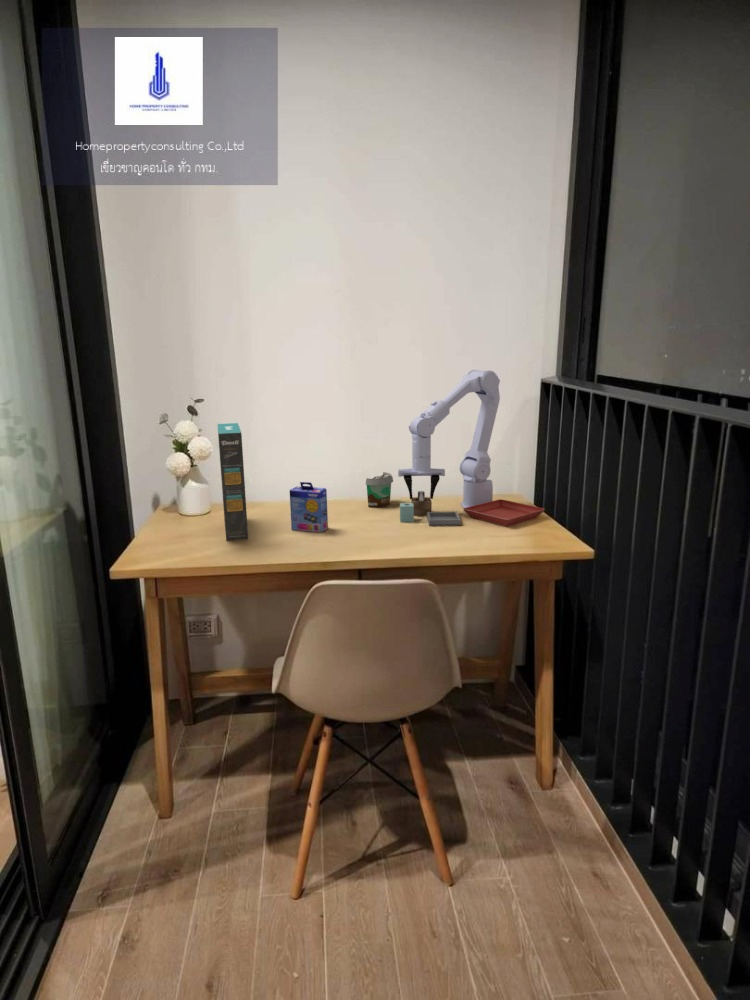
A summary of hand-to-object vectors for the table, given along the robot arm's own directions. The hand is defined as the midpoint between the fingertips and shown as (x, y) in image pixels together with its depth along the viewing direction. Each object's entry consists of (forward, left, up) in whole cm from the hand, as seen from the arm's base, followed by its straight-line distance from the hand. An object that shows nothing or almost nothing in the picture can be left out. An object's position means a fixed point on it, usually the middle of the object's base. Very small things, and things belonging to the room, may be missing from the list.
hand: (421, 498), depth 202 cm
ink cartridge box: (+34, +16, -5) cm, 38 cm away
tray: (-6, +10, -5) cm, 13 cm away
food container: (+12, -11, -5) cm, 17 cm away
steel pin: (0, 0, -5) cm, 5 cm away
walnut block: (0, 0, -5) cm, 5 cm away
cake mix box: (+56, +15, -5) cm, 58 cm away
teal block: (+5, +8, -5) cm, 11 cm away
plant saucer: (-25, +6, -6) cm, 26 cm away
